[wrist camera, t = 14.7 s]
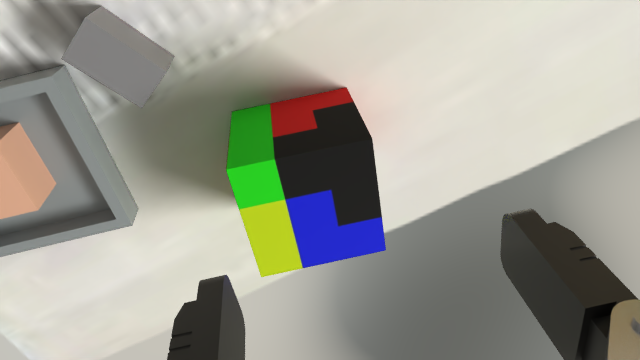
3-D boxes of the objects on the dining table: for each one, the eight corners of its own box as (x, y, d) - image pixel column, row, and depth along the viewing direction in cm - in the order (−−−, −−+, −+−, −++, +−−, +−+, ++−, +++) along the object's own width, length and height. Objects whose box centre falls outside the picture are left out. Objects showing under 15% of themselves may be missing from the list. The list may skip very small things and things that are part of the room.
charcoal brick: (79, 43, 35) (61, 58, 31) (101, 5, 34) (85, 17, 30) (151, 89, 37) (141, 108, 34) (174, 55, 36) (166, 71, 33)
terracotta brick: (-24, 132, 37) (-52, 155, 33) (19, 122, 37) (-5, 144, 33) (17, 193, 40) (-5, 220, 36) (56, 183, 40) (38, 210, 36)
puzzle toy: (360, 183, 45) (385, 250, 36) (259, 205, 44) (261, 277, 36) (346, 87, 39) (372, 138, 31) (231, 111, 39) (225, 169, 31)
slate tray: (-113, 107, 35) (-137, 121, 33) (64, 65, 35) (52, 76, 33) (-8, 243, 43) (-22, 262, 41) (138, 208, 43) (132, 225, 41)
